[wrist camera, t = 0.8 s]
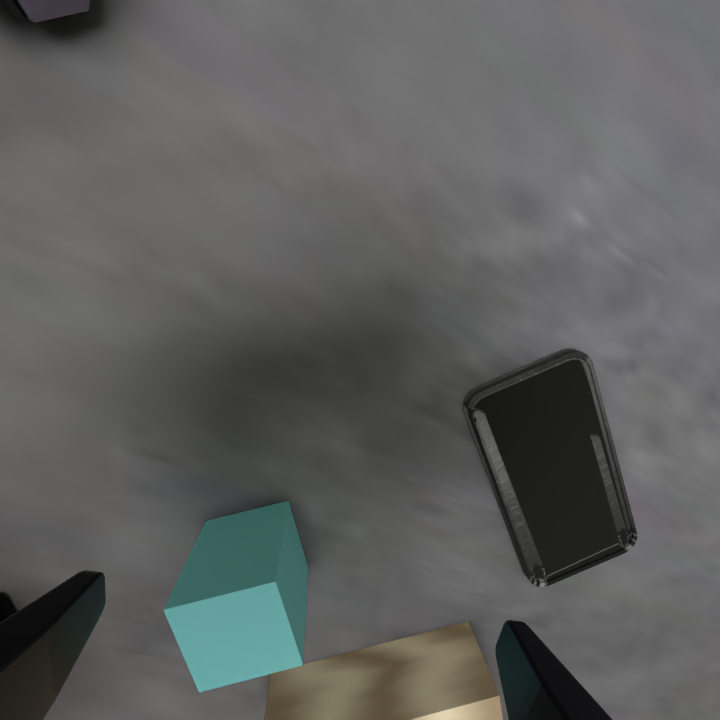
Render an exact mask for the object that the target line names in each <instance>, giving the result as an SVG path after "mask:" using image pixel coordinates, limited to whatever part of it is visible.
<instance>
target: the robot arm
mask: <svg viewBox="0 0 720 720" xmlns="http://www.w3.org/2000/svg"><path fill="white" fill-rule="evenodd" d="M104 606H105V577H104V574H103V573H102V572H97V571H88V570H85V571H82V572H79V573H77V574H76V575H74V576H73V577H71V578H70V579H68V580H66V581H65V582H63V583H62V584H60V585H59V586H57V587H56V588H54V589H52V590H51V591H49V592H48V593H46V594H45V595H43V596H41V597H40V598H38V599H37V600H35V601H34V602H32V603H30V604H29V605H27V606H26V607H24V608H23V609H21V610H19V611H18V612H16V613H14V611H13V609H12V608H11V606H10V604H9V602H8V601H7V599H6V598H5V597H4V596H2V595H0V720H43V718H44V717H45V715H46V714H47V712H48V710H49V709H50V707H51V706H52V704H53V702H54V701H55V699H56V697H57V695H58V694H59V692H60V690H61V688H62V686H63V685H64V683H65V681H66V679H67V677H68V675H69V673H70V672H71V670H72V668H73V666H74V664H75V662H76V660H77V659H78V657H79V655H80V653H81V651H82V649H83V647H84V645H85V644H86V642H87V640H88V638H89V636H90V634H91V632H92V630H93V629H94V627H95V625H96V623H97V621H98V619H99V617H100V616H101V614H102V611H103V609H104ZM496 659H497V664H498V669H499V674H500V679H501V684H502V689H503V693H504V698H505V703H506V708H507V713H508V718H509V720H612V719H611V717H610V716H609V715H608V714H607V713H606V712H605V711H604V710H603V709H602V708H601V706H600V705H599V704H598V703H597V702H596V701H595V700H594V699H593V698H592V696H591V695H590V694H589V693H588V692H587V691H586V690H585V689H584V688H583V686H582V685H581V684H580V683H579V682H578V681H577V680H576V679H575V678H574V676H573V675H572V674H571V673H570V672H569V671H568V670H567V669H566V668H565V666H564V665H563V664H562V663H561V662H560V661H559V660H558V659H557V658H556V656H555V655H554V654H553V653H552V652H551V651H550V650H549V649H548V648H547V646H546V645H545V644H544V643H543V642H542V641H541V640H540V639H539V638H538V636H537V635H536V634H535V633H534V632H533V631H532V630H531V629H530V628H529V626H528V625H526V624H525V623H524V622H521V621H512V620H507V621H506V622H505V623H504V625H503V628H502V631H501V633H500V636H499V639H498V641H497V644H496Z"/></svg>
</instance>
